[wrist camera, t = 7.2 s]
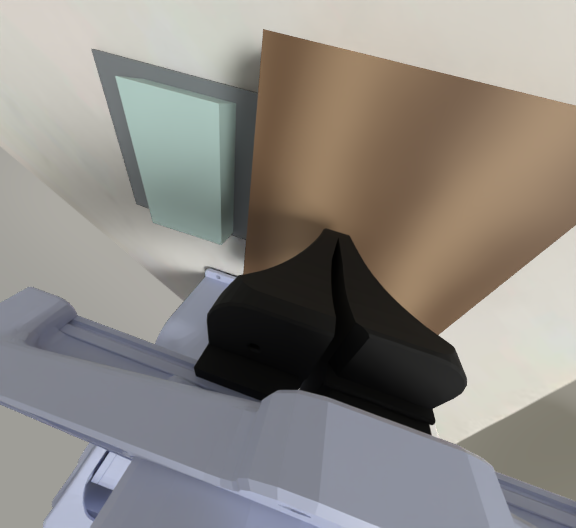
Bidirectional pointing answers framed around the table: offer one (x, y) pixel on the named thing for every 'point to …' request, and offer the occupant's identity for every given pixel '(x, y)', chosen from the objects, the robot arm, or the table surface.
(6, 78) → the table surface
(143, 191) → the mat
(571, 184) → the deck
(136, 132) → the mint green flat block
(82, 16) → the table surface
